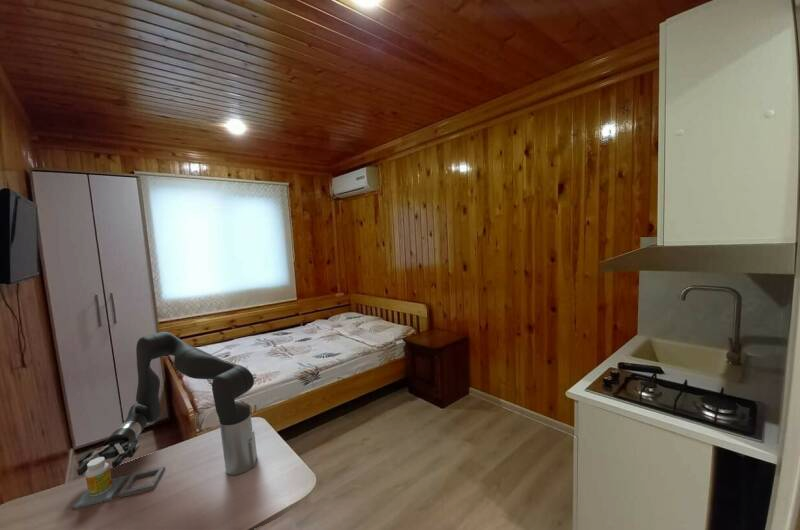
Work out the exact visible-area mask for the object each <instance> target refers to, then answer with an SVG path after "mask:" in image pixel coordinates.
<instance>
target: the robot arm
mask: <svg viewBox="0 0 800 530" xmlns="http://www.w3.org/2000/svg"><path fill="white" fill-rule="evenodd" d="M135 349H136V368H137V369H136V370H137V389H136V394H135V395H136V396H135V401H136V402H137V403H134V404H132V406H131V407H130V408H129V411H128V413H127V417H126V419H125V420H124V421H123V422H122V424H121V425H120V426H119V425H118V427H117V428H116V429H115V430H114V431H113V432H112V433H111V434H110V436H108V437H107V439H106V440H105V441H104V443H103V446H102V447H100V448H99V449H97V450H94V449H93V448H90V449H89V450H88V451H86V452H85V453H84V454H83V455H82V456H81V457H80V458H79V459H78V460H77V463H78V468H77V470H76V472H77V475H78V477H80V476H83V475H85V474H86V472H87V470H88V468H87V464H88V463H89V462H90V461H91V460H93V459H95V458H98V457H104V458H105V461H106V460H108V459H110V460H111V459H113V461H112V462H111V466H112V467H111V468H112V469H116V468H117V467H118V466H120V465H121V463H122V462H123V461H125V460H126V459H127V458H129V459H131V458H133V457H134V455H135V454H136V452H138V451H137V450H138V449H139V448H140V445H139V440H138V438H139V437H140V434H141V433H142V432H143V430H145V428H146V427H147V425H148V424H151V423H154V422H156V421H157V420H158V419H159V418H160V417H161V413H162V405H161V401H160V397H159V393H160V388H161V380H160V377H159V375H158V374H157V373H156V372H155V371H154V370H153V369H152V368H151V361H152V360H156V359H158V358H162V357H165V356H173V358H174V359H173V363H174V368H175V369H176V370H177V372H179V373H181V374H182V375H184V376H187V377H189V378H191V379H197V380H212V382H211V392H212V395H213V399H214V400H213V401H214V407H215V412H216V415H217V417H218V421H219V428H220V436H221V437H220V438H221V445H222V452H223V459H224V460H223V461H224V467H225V472H226V474H228V475H230V476H237V475H238V476H239V475H241V474H244V473H247V472H248V471H249V470H251V469H254V468H255V467H256V463H257V457H258V452H257V451H258V450H257V443H256V436H255V435H256V434H255V430H253V423H252V411H251V407H250V404H248V403H247V402H241V401H240V402H239V401H238V402H236V401H235V400H236V399H237V398H239V397H241V396H242V395H244V394H245V393H247V392H249V391H250V390H251V389H252V387H253V386H254V384H255V379H254V375H253V373H252V372H251V371H250V370H249V369H247V368H246V367H245V366H242V365H241V364H236V363H233V362H230V361H227V360H224V359H222V358H219V357H218V356H215V355H212V354H210V353H208V352H207V351H204V350H202V349H200V348H198V347H196V346H193V345H191V344H189V343H187V342H185V341H184V340H182V339H180V337H178V336H176V335H174V334H173V333H172V332H169V331H160V332H155V333H152V334H148V335H145V336H141V337H140V338H138V341H137V343H136V348H135Z"/></svg>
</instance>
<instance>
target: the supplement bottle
mask: <svg viewBox="0 0 800 530" xmlns="http://www.w3.org/2000/svg"><path fill="white" fill-rule="evenodd" d="M87 468H88V469H87V470H86V472H85V480H86V485H87V489H88V492H89V495H90V496H92V497H93V496H98V495H101V494H103V493H105V492H106V491H108V490H109V489H110V488H111V487H112V479H113V478H112V474H111V468H110V464H109V463H108V462H106V460H105V458H104V457H99V456H97V458H95V459H91V460H90V461H89V463H88V464H87Z"/></svg>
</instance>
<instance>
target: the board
mask: <svg viewBox="0 0 800 530" xmlns="http://www.w3.org/2000/svg"><path fill="white" fill-rule="evenodd" d="M111 479H112V487H111V488H110V489H109V490H108V491H106V492H105V493H103V494H101V495H98V496H93V497H92V496H90V495H89V492H88V488H87V489H86V490H85V492H84V493H83V494H82V495H81V497H80V498H79V499H78V500H77V501H76V503H75V504H74V505H73V509H74V510H75V509H79V508H83V507H87V506H92V505H96V504H98V503H104V502H107V501H112V499H113V498H114V496H116V494H117V492H118V490H119V489H120V488H121V487H122V485H123V484H124V482H125V481H126V479H127V475H124V476H119V477H115V478H111ZM122 483H123V484H122ZM103 501H104V502H103Z"/></svg>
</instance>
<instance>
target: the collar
mask: <svg viewBox="0 0 800 530" xmlns="http://www.w3.org/2000/svg"><path fill="white" fill-rule="evenodd" d="M165 470H166V466H164V465H163V466H160V467H154V468H150V469H145V470H141V471H137V472H133V473H132V474H131V476H130V477H129V479H127V481H126V483H125V484H124V486H123V488H122V489H121V490H120V492H119V493H118V496H119V498H123V497H124V498H125V497H127V496H132V495H136V493H137V494H140V492H141V493H143V492H147V491H152V490H155V488H156V486H157V485H158V483H159V481H160V479H161V478H162V476H163V474H164V472H165ZM151 475H155V476H154V477H153V479H152V481H151V482H150V484H145V485H140V486H137V487H136V486H135V487H133V488H131V487H132V486H133V484H134V482H135V481H136V480H137V479H138V478H143V477H147V476H151ZM132 483H133V484H132Z"/></svg>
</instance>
